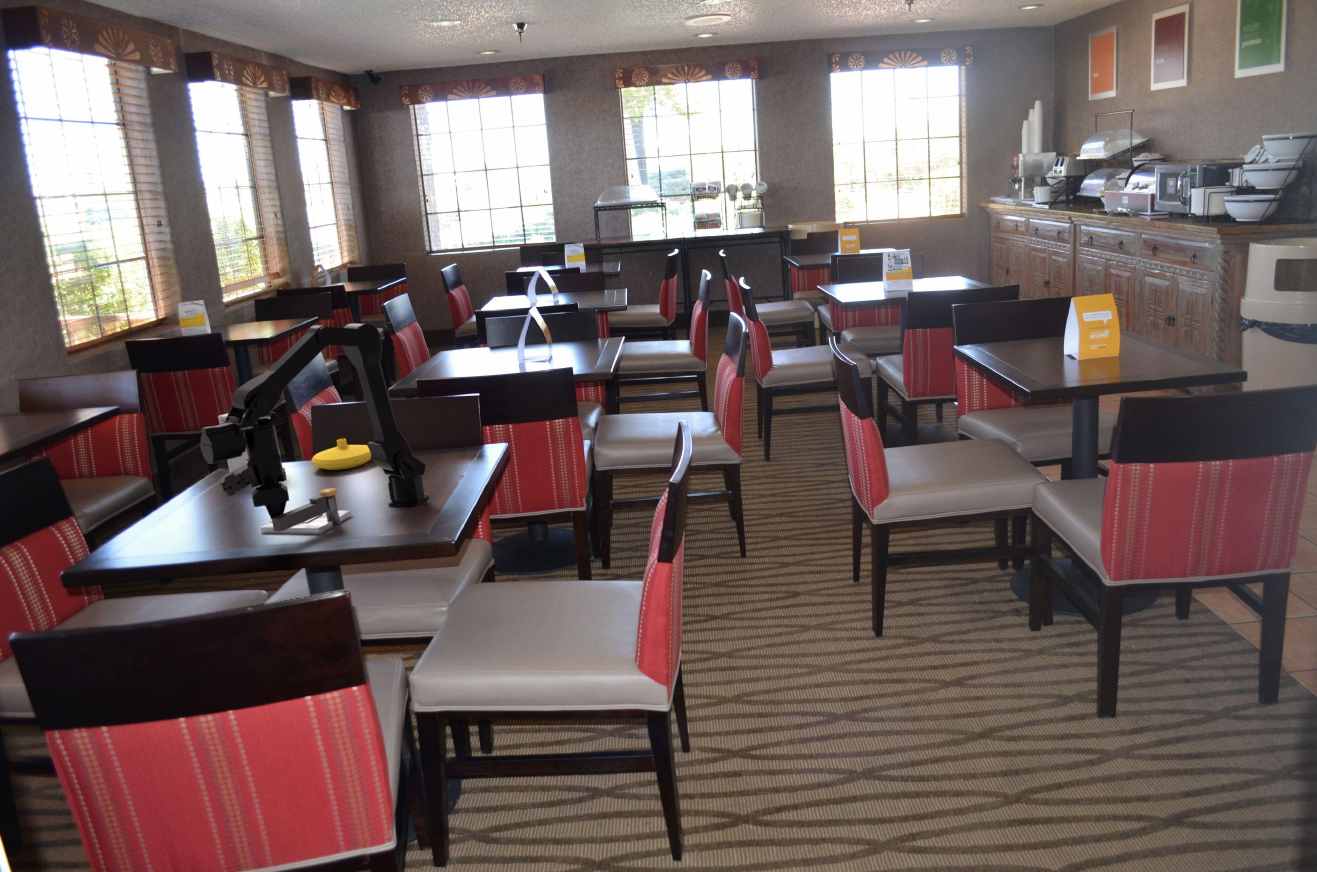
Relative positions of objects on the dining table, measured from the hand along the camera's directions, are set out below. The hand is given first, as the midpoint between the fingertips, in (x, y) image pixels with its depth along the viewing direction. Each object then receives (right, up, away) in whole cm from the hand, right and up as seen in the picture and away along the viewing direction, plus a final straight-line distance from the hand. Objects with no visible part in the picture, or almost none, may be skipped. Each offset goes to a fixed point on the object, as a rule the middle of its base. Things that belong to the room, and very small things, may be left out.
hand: (277, 526), depth 187 cm
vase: (-6, +10, +58) cm, 59 cm away
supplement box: (-27, +7, +55) cm, 62 cm away
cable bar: (+5, +1, +3) cm, 6 cm away
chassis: (+2, 0, +11) cm, 11 cm away
